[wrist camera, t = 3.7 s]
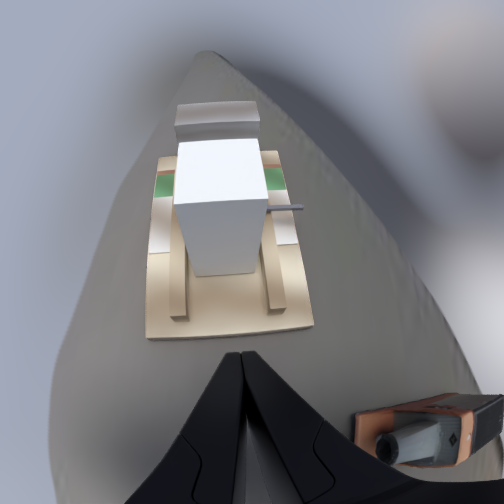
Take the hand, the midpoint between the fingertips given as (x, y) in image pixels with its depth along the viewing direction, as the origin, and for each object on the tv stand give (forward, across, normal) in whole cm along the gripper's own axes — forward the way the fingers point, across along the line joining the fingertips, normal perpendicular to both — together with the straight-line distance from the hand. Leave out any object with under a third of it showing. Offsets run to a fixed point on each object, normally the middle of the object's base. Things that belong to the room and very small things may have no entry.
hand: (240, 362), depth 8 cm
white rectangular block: (+12, -2, 0) cm, 12 cm away
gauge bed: (+15, 0, -1) cm, 15 cm away
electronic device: (+3, -12, +12) cm, 17 cm away
